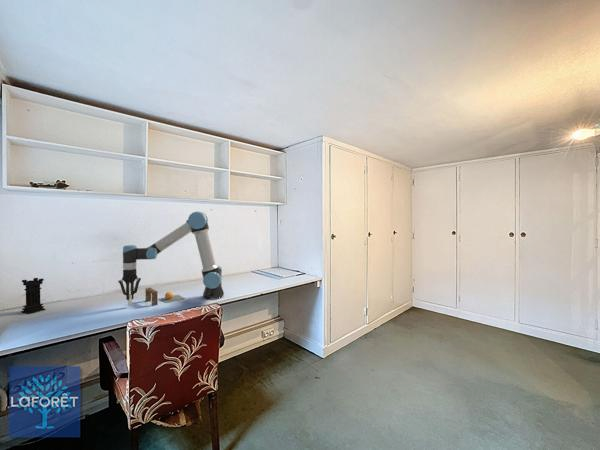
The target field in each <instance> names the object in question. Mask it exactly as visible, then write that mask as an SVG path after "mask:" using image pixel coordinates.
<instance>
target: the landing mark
mask: <svg viewBox="0 0 600 450" xmlns="http://www.w3.org/2000/svg"><path fill="white" fill-rule="evenodd" d="M158 300H160V301H161V302H163V303H165V304H168V303H172V302H173V303H174V302H177V301H181V300H183V301H184V300H186V298H185V297H183V296H181V295H180V294H173V298H172V299H166V298H165V296H164V297H159V298H158Z"/></svg>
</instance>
